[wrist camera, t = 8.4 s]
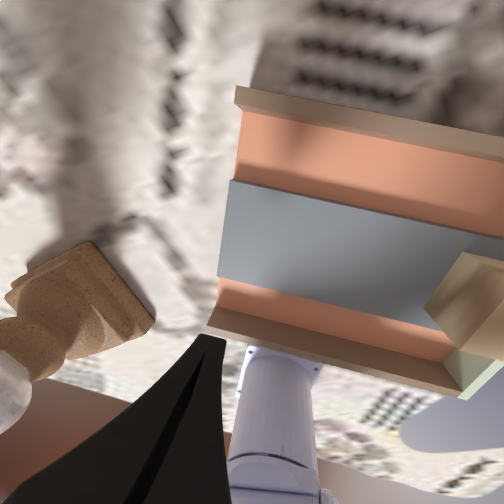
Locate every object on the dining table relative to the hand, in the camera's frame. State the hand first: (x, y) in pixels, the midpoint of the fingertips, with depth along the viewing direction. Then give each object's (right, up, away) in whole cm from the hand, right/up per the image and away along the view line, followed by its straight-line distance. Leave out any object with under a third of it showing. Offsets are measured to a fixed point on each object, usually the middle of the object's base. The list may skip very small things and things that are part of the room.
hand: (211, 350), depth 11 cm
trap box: (+11, +5, +7) cm, 13 cm away
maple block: (+18, +2, +5) cm, 19 cm away
